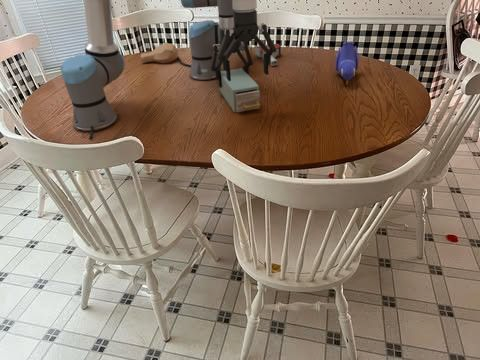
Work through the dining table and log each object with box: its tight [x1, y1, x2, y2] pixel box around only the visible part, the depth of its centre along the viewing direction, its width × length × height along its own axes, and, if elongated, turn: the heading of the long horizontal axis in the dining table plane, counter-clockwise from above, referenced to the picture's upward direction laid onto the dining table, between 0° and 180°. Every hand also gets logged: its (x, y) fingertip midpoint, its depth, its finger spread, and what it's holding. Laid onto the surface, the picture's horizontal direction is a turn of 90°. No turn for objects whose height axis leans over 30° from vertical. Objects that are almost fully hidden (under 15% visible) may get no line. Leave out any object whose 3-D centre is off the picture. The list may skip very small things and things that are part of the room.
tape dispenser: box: [254, 43, 282, 67], centre depth 181 cm, size 18×5×20 cm
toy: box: [334, 40, 360, 86], centre depth 151 cm, size 10×17×25 cm
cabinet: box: [219, 67, 260, 113], centre depth 141 cm, size 21×10×9 cm, turn 17°
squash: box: [140, 42, 179, 64], centre depth 186 cm, size 11×20×9 cm, turn 92°
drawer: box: [236, 89, 262, 113], centre depth 137 cm, size 25×9×7 cm, turn 17°
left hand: (247, 76), depth 123 cm, fingers open, 13 cm apart
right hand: (233, 84), depth 148 cm, fingers closed on cabinet, 10 cm apart
